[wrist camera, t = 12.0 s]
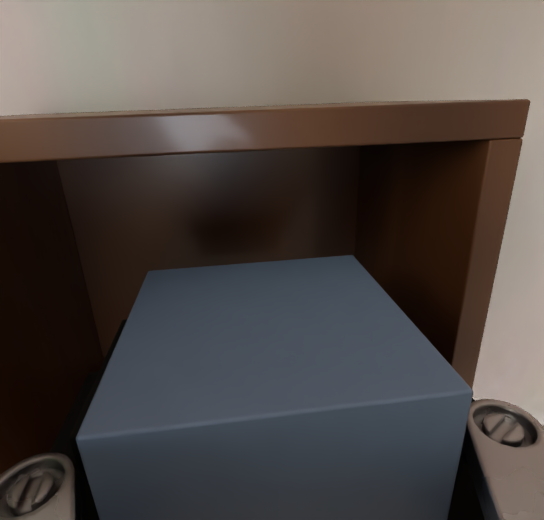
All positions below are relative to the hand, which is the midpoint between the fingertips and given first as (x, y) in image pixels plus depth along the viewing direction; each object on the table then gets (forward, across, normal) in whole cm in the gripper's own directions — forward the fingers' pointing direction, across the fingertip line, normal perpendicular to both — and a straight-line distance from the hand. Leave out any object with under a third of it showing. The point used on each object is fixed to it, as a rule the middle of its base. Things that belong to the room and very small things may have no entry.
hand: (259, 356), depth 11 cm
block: (0, 0, 0) cm, 0 cm away
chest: (+9, +1, 0) cm, 9 cm away
